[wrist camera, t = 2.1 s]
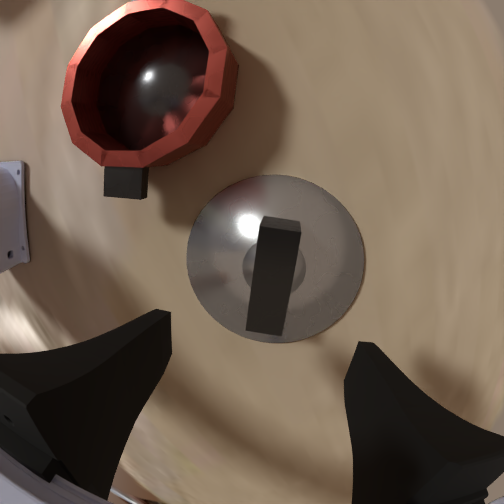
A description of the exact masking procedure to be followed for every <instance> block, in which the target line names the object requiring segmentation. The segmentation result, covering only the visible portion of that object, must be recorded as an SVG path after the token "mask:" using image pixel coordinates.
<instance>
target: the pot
mask: <svg viewBox="0 0 504 504" xmlns="http://www.w3.org/2000/svg"><path fill="white" fill-rule="evenodd" d="M238 68H239V65H238V63H237V61H236V60H235V58H234V56H233V54H232V52H231V50H230V48H229V46H228V44H227V42H226V40H225V38H224V36H223V35H222V32H221V31H220V29H219V28H218V26H217V24H216V23H215V21H214V20H213V18H212V16H211V15H210V13H209V12H208V10H206V9H203V8H201V7H199V6H196V5H194V4H191V3H189V2H186V1H184V0H132V1H131V2H129V3H127V4H125V5H124V6H122V7H121V8H119V9H118V10H116V11H115V12H113V13H112V14H110V15H109V16H108V17H106V18H105V19H103V20H102V21H101V22H99V23H98V24H97V25H95V26H94V27H93V28H91V30H90V31H89V33H88V34H87V36H86V37H85V39H84V40H83V42H82V43H81V45H80V46H79V48H78V49H77V51H76V53H75V54H74V56H73V58H72V59H71V61H70V63H69V64H68V67H67V72H66V77H65V83H64V89H63V96H62V103H61V109H62V112H63V115H64V119H65V122H66V125H67V128H68V131H69V134H70V137H71V140H72V143H73V144H74V145H76V146H77V147H78V148H79V149H80V150H82V151H83V152H84V153H85V154H87V155H88V156H89V157H90V158H92V159H93V160H94V161H95V162H97V163H98V164H99V165H100V166H105V169H104V196H106V197H118V198H129V199H139V200H141V199H144V198H147V190H148V172H149V167H154V166H163V165H168V164H170V163H172V162H174V161H176V160H178V159H180V158H182V157H184V156H186V155H188V154H190V153H191V152H193V151H195V150H197V149H199V148H202V147H204V146H206V145H207V143H208V142H209V141H210V139H211V138H212V136H213V135H214V134H215V132H216V131H217V129H218V128H219V127H220V125H221V124H222V123H223V121H224V120H225V119H226V117H227V116H228V115H229V113H230V112H231V111H232V109H233V107H234V99H235V91H236V83H237V76H238Z"/></svg>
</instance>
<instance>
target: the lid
mask: <svg viewBox="0 0 504 504" xmlns="http://www.w3.org/2000/svg"><path fill="white" fill-rule="evenodd" d="M187 269H188V275H189V279H190V282H191V285H192V288H193V290H194V292H195V294H196V296H197V298H198V300H199V301H200V303H201V304H202V306H203V307H204V308H205V310H206V311H207V312H208V313H209V314H210V315H211V316H212V317H213V318H214V319H215V320H216V321H217V322H219V323H220V324H221V325H222V326H224V327H225V328H227V329H229V330H230V331H232V332H234V333H236V334H238V335H240V336H243V337H246V338H249V339H252V340H256V341H261V342H269V343H285V342H293V341H298V340H302V339H305V338H308V337H311V336H313V335H315V334H317V333H319V332H321V331H323V330H325V329H326V328H328V327H329V326H331V325H332V324H333V323H334V322H335V321H337V320H338V319H339V318H340V317H341V316H342V315H343V314H344V312H345V311H346V310H347V309H348V307H349V306H350V305H351V303H352V302H353V300H354V298H355V296H356V294H357V292H358V289H359V286H360V284H361V280H362V275H363V270H364V252H363V245H362V241H361V236H360V234H359V231H358V229H357V226H356V224H355V222H354V221H353V219H352V217H351V215H350V214H349V213H348V211H347V210H346V209H345V207H344V206H343V205H342V204H341V203H340V202H339V201H338V200H337V199H336V198H335V197H334V196H333V195H331V194H330V193H329V192H327V191H326V190H324V189H323V188H321V187H319V186H317V185H316V184H314V183H312V182H309V181H306V180H304V179H301V178H297V177H292V176H287V175H262V176H256V177H251V178H248V179H245V180H242V181H239V182H237V183H235V184H233V185H231V186H229V187H227V188H226V189H224V190H223V191H221V192H220V193H219V194H217V195H216V196H215V197H214V198H213V199H212V200H211V201H210V202H209V203H208V204H207V205H206V206H205V207H204V209H203V210H202V211H201V213H200V214H199V216H198V218H197V219H196V221H195V223H194V225H193V228H192V230H191V233H190V237H189V240H188V246H187Z"/></svg>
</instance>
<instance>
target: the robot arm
mask: <svg viewBox="0 0 504 504" xmlns="http://www.w3.org/2000/svg"><path fill="white" fill-rule="evenodd" d="M29 261H30V256H29V248H28V239H27V228H26V215H25V193H24V162H23V161H8V162H0V273H2V272H4V271H6V270H8V269H10V268H12V267H14V266H15V265H17V264H19V263H21V262H23V263H28V262H29ZM171 355H172V341H171V312H168V311H164V310H159V309H155V310H152V311H150V312H148V313H146V314H144V315H142V316H140V317H138V318H136V319H134V320H132V321H130V322H128V323H126V324H124V325H122V326H120V327H118V328H116V329H114V330H111V331H109V332H107V333H104V334H102V335H100V336H98V337H95V338H92V339H90V340H87V341H84V342H81V343H77V344H74V345H71V346H67V347H62V348H58V349H53V350H48V351H41V352H34V353H21V354H0V504H113V503H111V502H109V501H107V500H108V496H109V492H110V489H111V485H112V482H113V479H114V475H115V472H116V469H117V466H118V464H119V461H120V458H121V455H122V453H123V450H124V447H125V445H126V442H127V440H128V437H129V435H130V433H131V430H132V428H133V426H134V424H135V421H136V419H137V418H138V416H139V414H140V412H141V410H142V409H143V407H144V405H145V404H146V402H147V400H148V399H149V397H150V396H151V394H152V392H153V391H154V389H155V387H156V386H157V384H158V382H159V381H160V379H161V377H162V375H163V374H164V372H165V369H166V367H167V365H168V362H169V360H170V357H171ZM344 400H345V408H346V414H347V420H348V426H349V432H350V438H351V445H352V453H353V493H352V504H485V502H484V499H485V498H486V497H487V496H488V491H487V487H488V486H489V485H490V484H491V483H493V482H494V481H495V480H496V479H497V478H498V477H499V476H500V475H501V474H502V473H503V472H504V436H501V435H499V434H496V433H493V432H490V431H487V430H484V429H482V428H480V427H478V426H475V425H473V424H471V423H469V422H467V421H465V420H463V419H462V418H460V417H458V416H456V415H455V414H453V413H452V412H450V411H448V410H447V409H445V408H444V407H442V406H441V405H439V404H438V403H437V402H435V401H434V400H433V399H432V398H430V397H429V396H428V395H426V394H425V393H424V392H423V391H422V390H421V389H419V388H418V387H417V386H416V385H415V384H414V383H413V382H412V381H411V380H410V379H409V378H408V377H407V376H406V375H405V374H404V373H403V372H402V371H401V370H400V369H399V368H398V367H397V366H396V365H395V364H394V363H393V362H392V361H391V360H390V359H389V358H388V357H387V356H386V355H385V354H384V353H383V352H382V350H381V349H380V348H379V347H378V346H377V345H375V344H374V343H372V342H361V341H359V342H358V345H357V347H356V350H355V353H354V356H353V358H352V361H351V364H350V366H349V369H348V372H347V374H346V377H345V379H344ZM489 504H504V496H503V497H500V498H498V499H496V500H494V501H492V502H490V503H489Z"/></svg>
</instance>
